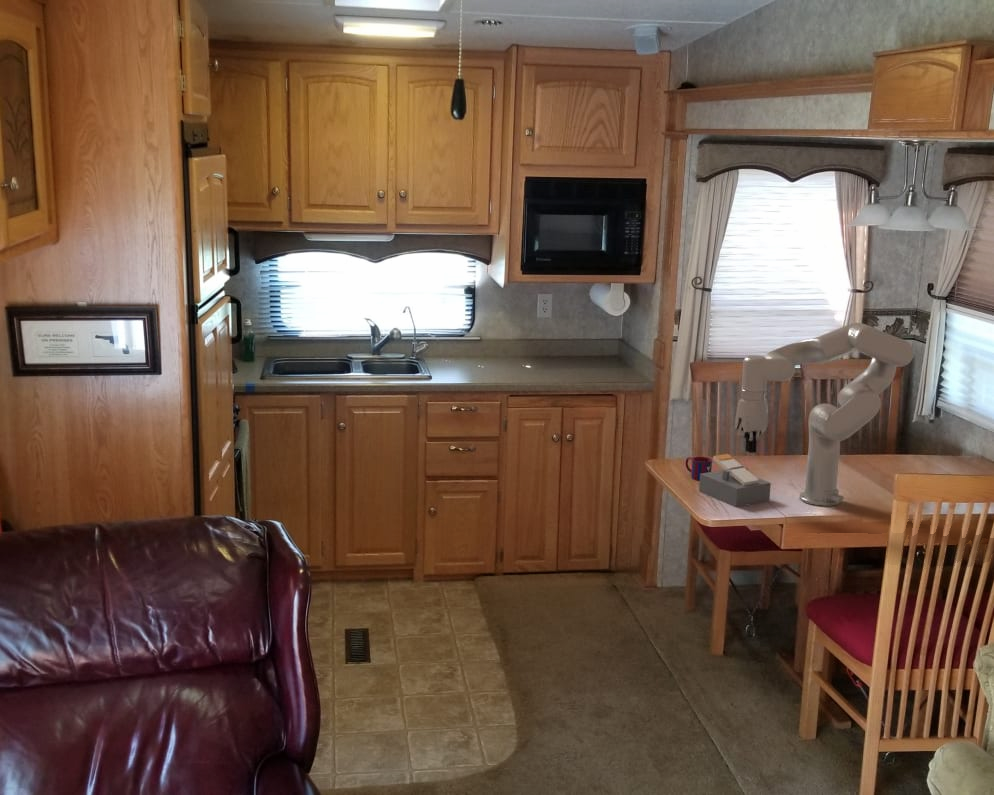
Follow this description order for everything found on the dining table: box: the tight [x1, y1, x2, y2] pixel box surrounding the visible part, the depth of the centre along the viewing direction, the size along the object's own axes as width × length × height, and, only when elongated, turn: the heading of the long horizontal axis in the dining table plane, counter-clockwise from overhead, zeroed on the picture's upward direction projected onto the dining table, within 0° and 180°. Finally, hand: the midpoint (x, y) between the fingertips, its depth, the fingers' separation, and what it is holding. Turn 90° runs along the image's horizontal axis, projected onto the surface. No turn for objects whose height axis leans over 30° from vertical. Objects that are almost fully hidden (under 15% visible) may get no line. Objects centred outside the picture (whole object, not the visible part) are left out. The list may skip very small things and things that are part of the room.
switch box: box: [698, 466, 772, 508], centre depth 333 cm, size 18×14×9 cm
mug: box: [685, 456, 713, 482], centre depth 353 cm, size 7×10×7 cm
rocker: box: [712, 453, 759, 486], centre depth 332 cm, size 16×6×2 cm, turn 29°
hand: (750, 451), depth 325 cm, fingers closed
